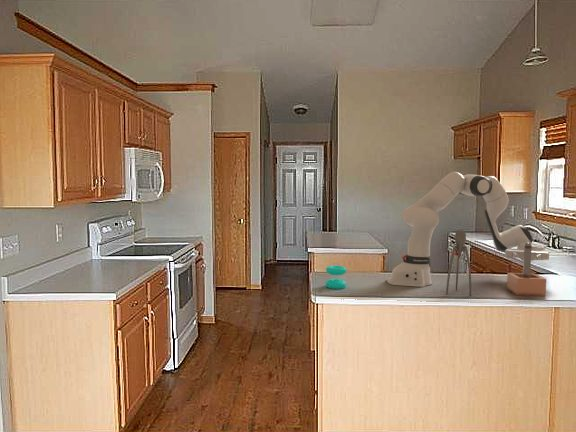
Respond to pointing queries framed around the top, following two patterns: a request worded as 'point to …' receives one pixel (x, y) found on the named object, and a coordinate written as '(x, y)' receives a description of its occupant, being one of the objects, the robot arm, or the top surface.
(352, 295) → the top surface
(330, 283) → the donuts
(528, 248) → the pepper mill
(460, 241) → the juicer
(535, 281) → the orange open box
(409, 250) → the robot arm
